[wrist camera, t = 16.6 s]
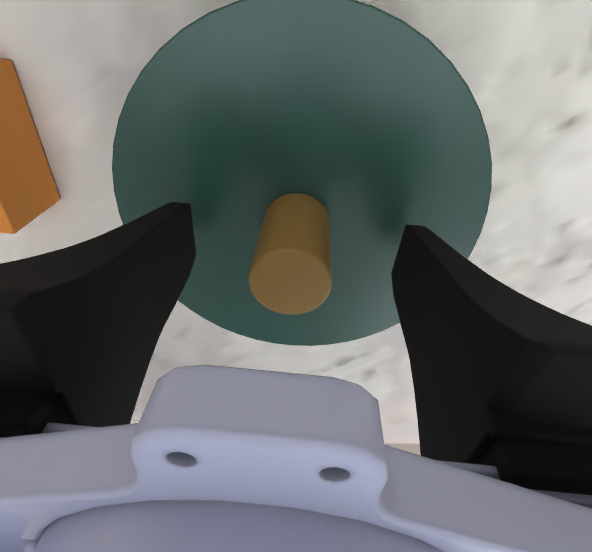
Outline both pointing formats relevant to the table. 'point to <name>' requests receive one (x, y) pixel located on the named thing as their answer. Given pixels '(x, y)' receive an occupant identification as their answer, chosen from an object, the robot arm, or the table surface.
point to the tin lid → (302, 161)
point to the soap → (20, 158)
